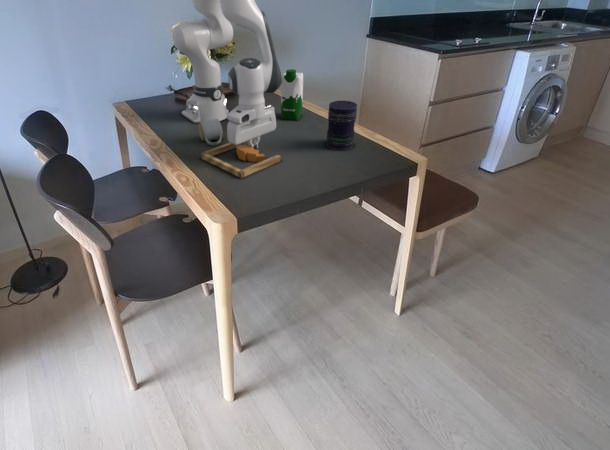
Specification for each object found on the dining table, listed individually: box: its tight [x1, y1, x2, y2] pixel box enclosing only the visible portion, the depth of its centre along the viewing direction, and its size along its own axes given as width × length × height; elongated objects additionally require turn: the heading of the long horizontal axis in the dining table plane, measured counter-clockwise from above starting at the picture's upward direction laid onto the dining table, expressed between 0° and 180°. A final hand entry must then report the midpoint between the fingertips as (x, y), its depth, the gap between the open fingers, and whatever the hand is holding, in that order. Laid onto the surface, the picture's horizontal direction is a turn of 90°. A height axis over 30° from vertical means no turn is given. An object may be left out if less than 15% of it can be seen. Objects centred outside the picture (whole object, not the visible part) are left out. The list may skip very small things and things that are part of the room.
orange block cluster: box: [235, 144, 266, 163], centre depth 146 cm, size 14×6×4 cm, turn 43°
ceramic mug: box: [197, 119, 224, 146], centre depth 158 cm, size 11×8×8 cm
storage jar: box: [326, 100, 358, 151], centre depth 149 cm, size 10×10×15 cm
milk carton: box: [280, 69, 304, 121], centre depth 174 cm, size 9×9×20 cm
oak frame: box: [200, 142, 282, 179], centre depth 145 cm, size 22×18×2 cm
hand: (253, 148), depth 147 cm, fingers closed
